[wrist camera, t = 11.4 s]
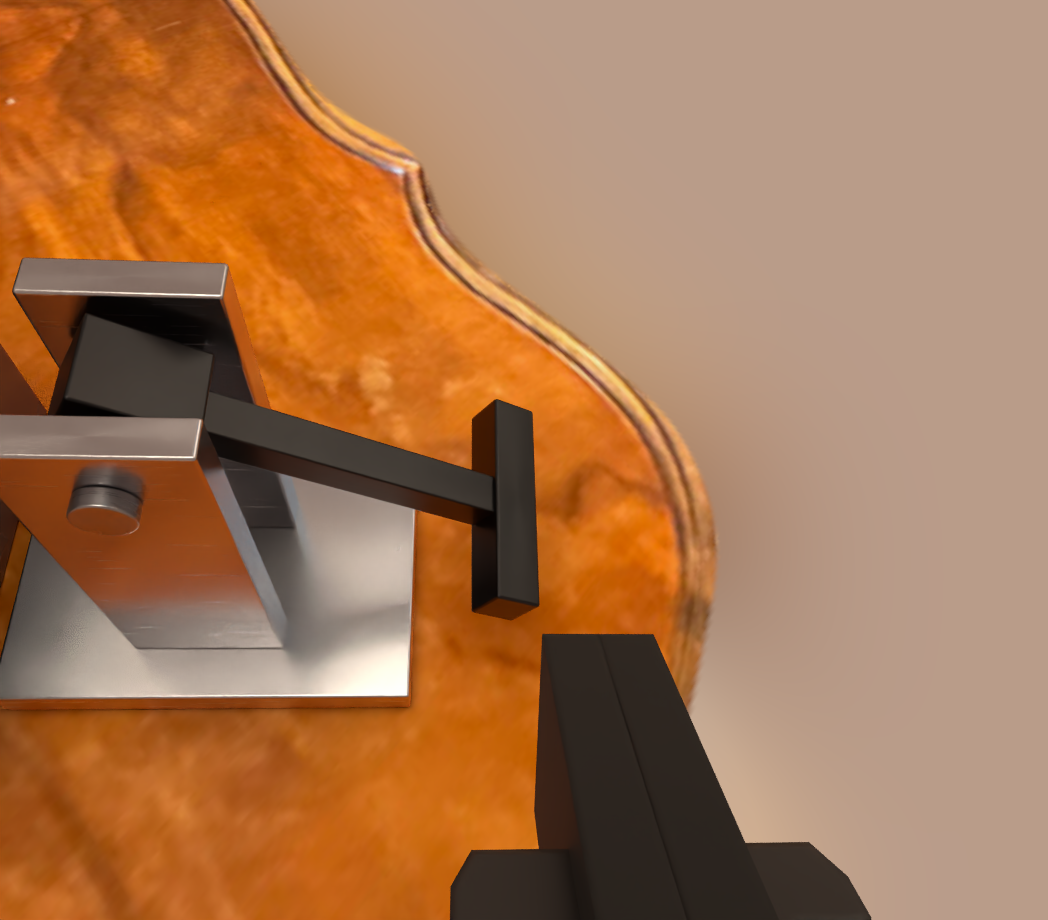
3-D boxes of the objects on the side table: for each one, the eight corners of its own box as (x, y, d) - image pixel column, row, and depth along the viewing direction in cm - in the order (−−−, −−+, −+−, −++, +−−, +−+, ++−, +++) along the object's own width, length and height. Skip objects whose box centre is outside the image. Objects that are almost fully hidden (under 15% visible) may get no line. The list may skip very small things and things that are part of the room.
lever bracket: (418, 478, 33) (404, 217, 22) (410, 707, 29) (389, 531, 18) (62, 474, 32) (-142, 198, 21) (5, 710, 28) (-286, 526, 17)
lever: (498, 438, 29) (544, 402, 27) (500, 627, 26) (553, 600, 24) (77, 300, 22) (102, 242, 21) (16, 528, 19) (41, 482, 18)
